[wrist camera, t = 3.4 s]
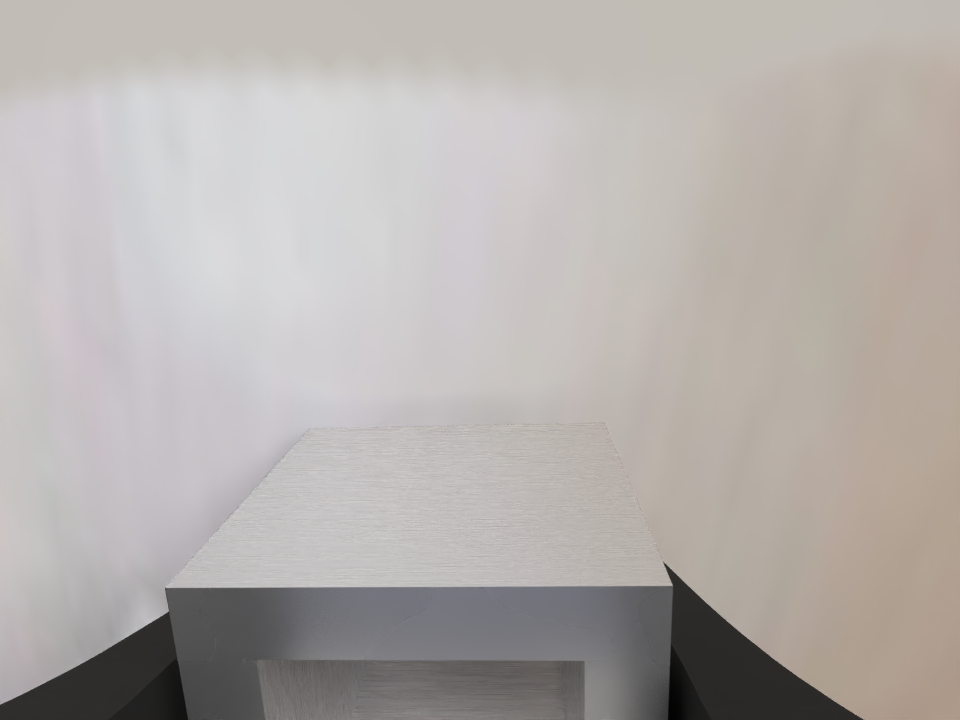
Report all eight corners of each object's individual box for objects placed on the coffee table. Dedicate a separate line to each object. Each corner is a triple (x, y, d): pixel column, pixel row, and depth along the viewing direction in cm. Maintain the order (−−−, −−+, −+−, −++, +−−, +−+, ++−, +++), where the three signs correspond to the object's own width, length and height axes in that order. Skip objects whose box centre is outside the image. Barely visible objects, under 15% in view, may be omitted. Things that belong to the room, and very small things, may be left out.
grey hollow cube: (337, 677, 13) (231, 959, 8) (309, 428, 12) (165, 588, 7) (602, 678, 13) (657, 974, 8) (605, 422, 11) (672, 586, 7)
